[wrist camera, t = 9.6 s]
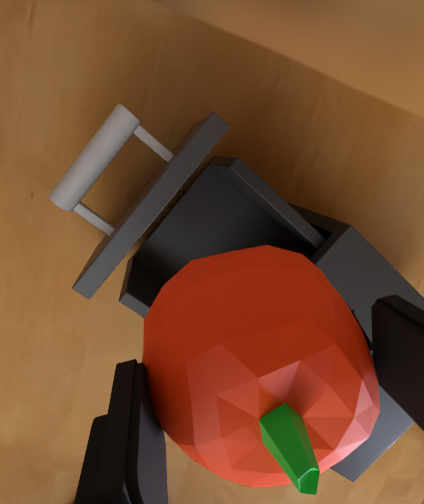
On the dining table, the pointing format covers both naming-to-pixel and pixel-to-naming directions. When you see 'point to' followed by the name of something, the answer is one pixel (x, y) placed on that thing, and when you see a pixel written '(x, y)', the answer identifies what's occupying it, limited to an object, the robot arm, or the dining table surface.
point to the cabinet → (362, 318)
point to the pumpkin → (260, 368)
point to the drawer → (177, 210)
